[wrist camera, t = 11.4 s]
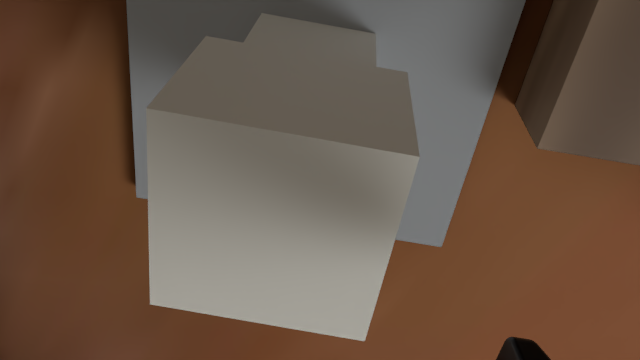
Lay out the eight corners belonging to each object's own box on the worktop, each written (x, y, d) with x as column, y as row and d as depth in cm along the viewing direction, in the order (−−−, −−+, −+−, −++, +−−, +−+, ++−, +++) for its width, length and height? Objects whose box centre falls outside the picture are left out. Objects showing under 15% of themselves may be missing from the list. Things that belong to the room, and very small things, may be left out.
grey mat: (551, -95, 15) (557, -93, 15) (439, 237, 22) (441, 247, 21) (126, -166, 15) (117, -166, 15) (142, 188, 22) (136, 197, 21)
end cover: (399, 18, 17) (419, 156, 9) (367, 152, 19) (364, 341, 12) (244, -11, 17) (146, 108, 9) (233, 128, 19) (149, 304, 12)
